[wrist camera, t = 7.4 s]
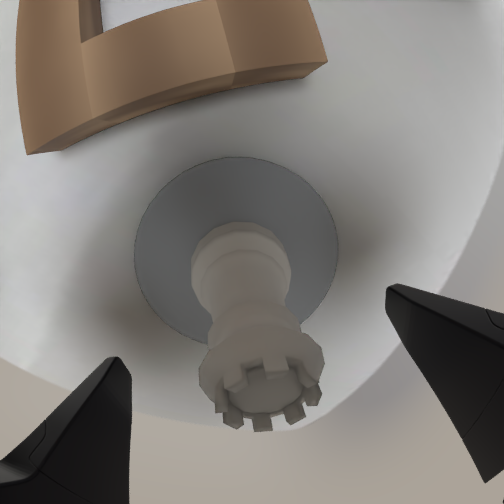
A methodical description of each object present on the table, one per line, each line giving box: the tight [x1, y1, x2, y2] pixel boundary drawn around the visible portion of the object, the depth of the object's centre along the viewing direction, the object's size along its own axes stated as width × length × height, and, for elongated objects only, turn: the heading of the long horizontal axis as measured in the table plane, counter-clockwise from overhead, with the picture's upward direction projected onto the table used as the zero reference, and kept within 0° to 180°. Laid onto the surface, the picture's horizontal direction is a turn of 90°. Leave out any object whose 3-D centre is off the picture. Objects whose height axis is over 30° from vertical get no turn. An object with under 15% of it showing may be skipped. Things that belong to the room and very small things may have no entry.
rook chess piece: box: [191, 222, 325, 432], centre depth 9 cm, size 4×4×8 cm
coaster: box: [134, 157, 338, 344], centre depth 13 cm, size 10×10×1 cm
